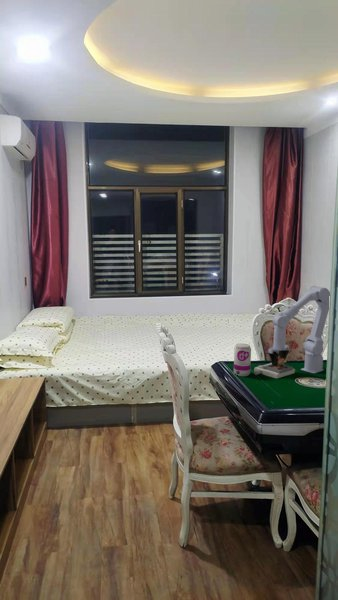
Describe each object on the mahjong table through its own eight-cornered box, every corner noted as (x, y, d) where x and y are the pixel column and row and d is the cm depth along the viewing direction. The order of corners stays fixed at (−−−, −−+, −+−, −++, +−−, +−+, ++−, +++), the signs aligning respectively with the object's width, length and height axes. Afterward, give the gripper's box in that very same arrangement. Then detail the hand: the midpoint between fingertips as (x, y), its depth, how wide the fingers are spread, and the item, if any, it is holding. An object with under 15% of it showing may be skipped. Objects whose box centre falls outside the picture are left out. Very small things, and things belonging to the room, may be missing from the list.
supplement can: (249, 377, 209) (251, 347, 207) (233, 376, 211) (234, 346, 209) (250, 372, 217) (251, 343, 215) (233, 371, 219) (235, 342, 217)
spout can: (276, 367, 220) (277, 356, 219) (287, 370, 215) (288, 358, 214) (271, 368, 216) (271, 357, 215) (282, 372, 211) (282, 360, 211)
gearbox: (272, 366, 228) (272, 360, 228) (294, 372, 217) (295, 366, 217) (249, 372, 216) (249, 366, 216) (271, 380, 205) (271, 373, 205)
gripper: (277, 342, 206) (275, 369, 208) (294, 338, 215) (293, 364, 217) (265, 339, 212) (264, 365, 214) (283, 335, 221) (281, 361, 223)
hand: (278, 364), depth 216 cm, fingers open, 6 cm apart
